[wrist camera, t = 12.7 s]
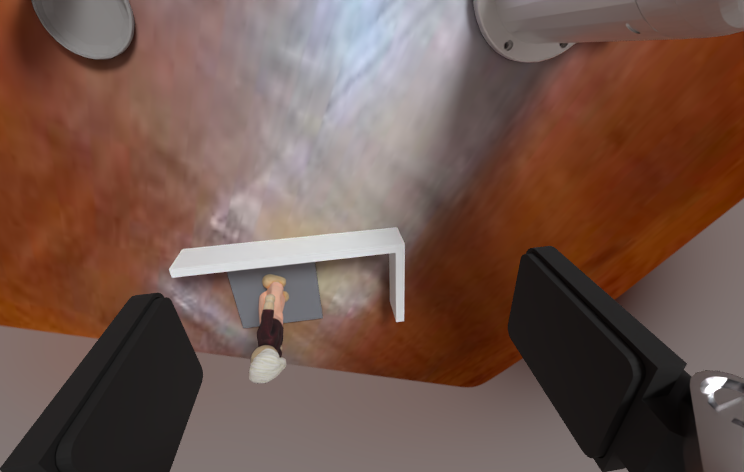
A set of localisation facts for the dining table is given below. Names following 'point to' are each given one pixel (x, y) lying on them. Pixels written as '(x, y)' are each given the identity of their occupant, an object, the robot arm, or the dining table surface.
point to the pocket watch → (88, 25)
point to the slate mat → (298, 287)
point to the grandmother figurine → (269, 331)
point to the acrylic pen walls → (301, 256)
